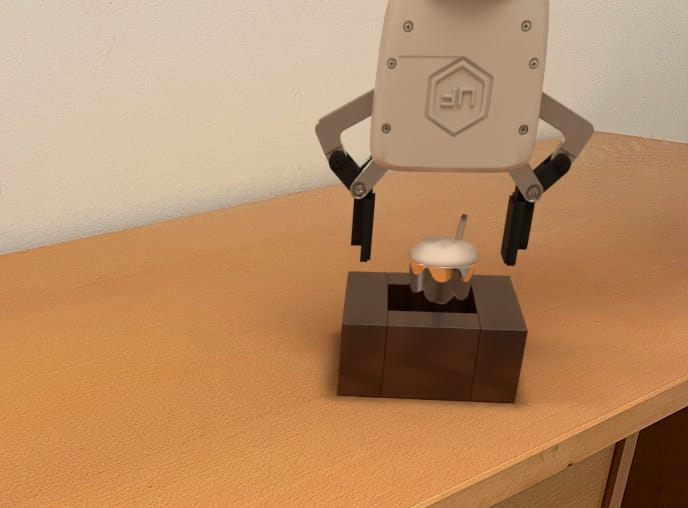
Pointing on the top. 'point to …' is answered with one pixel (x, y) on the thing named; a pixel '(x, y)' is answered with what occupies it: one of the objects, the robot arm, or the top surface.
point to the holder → (430, 342)
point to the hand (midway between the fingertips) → (435, 258)
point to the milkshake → (441, 273)
